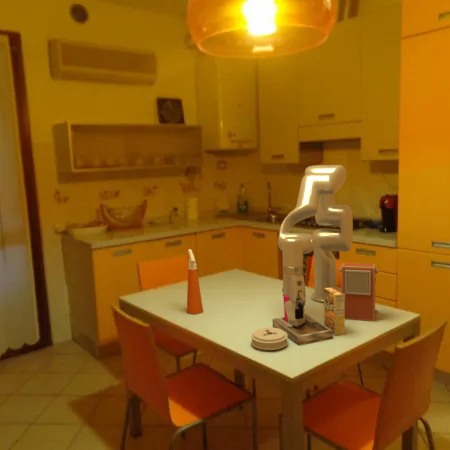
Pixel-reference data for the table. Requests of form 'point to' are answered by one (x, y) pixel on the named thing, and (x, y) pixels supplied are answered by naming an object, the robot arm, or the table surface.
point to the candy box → (334, 310)
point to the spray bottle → (193, 287)
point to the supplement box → (292, 313)
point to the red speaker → (359, 290)
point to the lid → (269, 338)
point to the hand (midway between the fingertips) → (293, 314)
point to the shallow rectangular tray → (304, 330)
